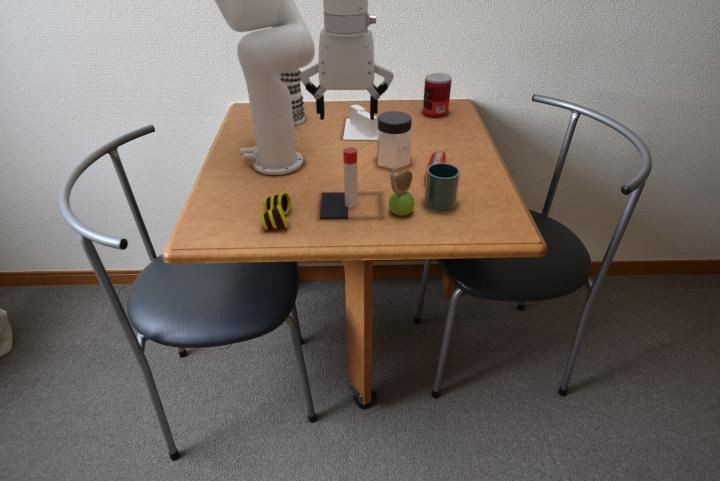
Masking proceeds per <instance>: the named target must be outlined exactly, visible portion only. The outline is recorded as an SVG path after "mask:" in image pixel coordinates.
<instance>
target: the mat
mask: <svg viewBox="0 0 720 481" xmlns="http://www.w3.org/2000/svg"><path fill="white" fill-rule="evenodd" d="M319 220H349V207H346V206H345V191H343V192H341V191H340V192H337V191H336V192H335V191H334V192H332V191H331V192H322V193H321V203H320V212H319Z"/></svg>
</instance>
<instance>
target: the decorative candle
mask: <svg viewBox="0 0 720 481" xmlns="http://www.w3.org/2000/svg"><path fill="white" fill-rule="evenodd" d="M301 72H302V71H301V70H300V68H299V69H295V70H292V71H288V72H285V73H282V74H280V75H279V77H280V79H281V81H282V82H283V83H284V84H285V85H286V87H287V88H288V90H289V92H290V96H291V104H292V114H293V124H294V126H297V125H300V124H302V123H304V122H305V120H306V118H305V116H306V114H305V107H304V106H303V105H305V102H304V96H303V91H302V88H301V83H302V81H301V79H300V77H299V76H300V73H301Z"/></svg>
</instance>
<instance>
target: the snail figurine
mask: <svg viewBox="0 0 720 481" xmlns="http://www.w3.org/2000/svg"><path fill="white" fill-rule="evenodd" d="M389 172H390V173H389V174H390V176H389V180H390V186H391V190H392V192H393V193H392V194H391V195H390V197H389V200H388V208H389V210H390V212H391V213H392V214H394V215H395V216H398V217H406V216H408V215H411V213H412V212H413V210H414V208H415V205H416V202H415V199H414V196H413V195H412V193H411V192H409V189H410V188H411V184H412V181H413V173H412V171H410V169H403V170H400V172H399V173H398V174H397V175H396V173H395V169H392V168H389Z"/></svg>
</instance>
